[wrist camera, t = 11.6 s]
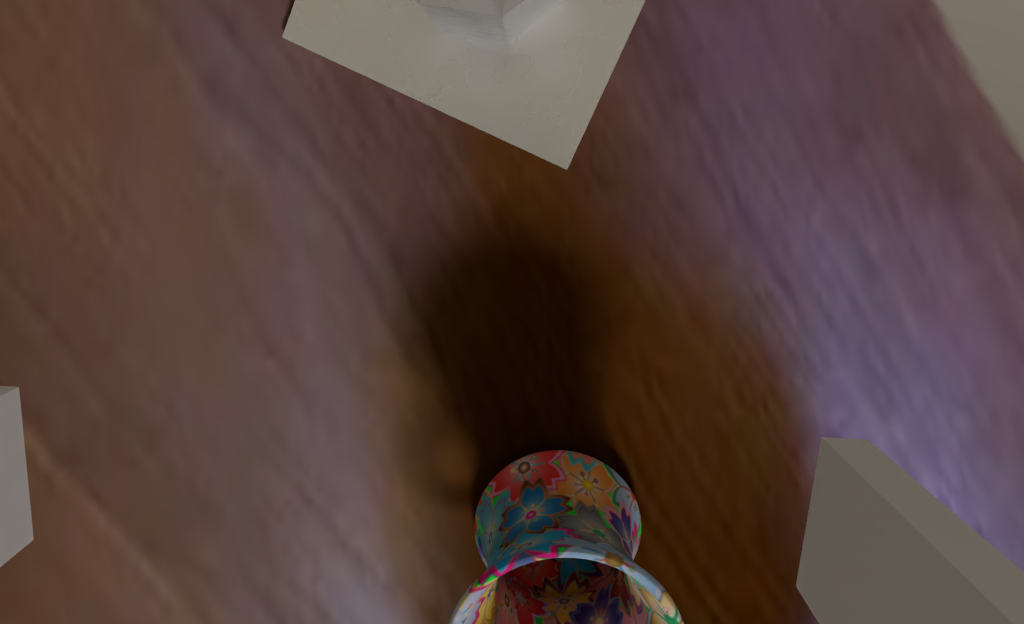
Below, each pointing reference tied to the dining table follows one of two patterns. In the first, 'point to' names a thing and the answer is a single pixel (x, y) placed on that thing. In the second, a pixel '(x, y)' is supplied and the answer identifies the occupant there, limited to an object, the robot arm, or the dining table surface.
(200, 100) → the dining table surface
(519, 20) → the grey hollow octagonal block
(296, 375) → the dining table surface
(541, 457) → the mug
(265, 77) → the dining table surface
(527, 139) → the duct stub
